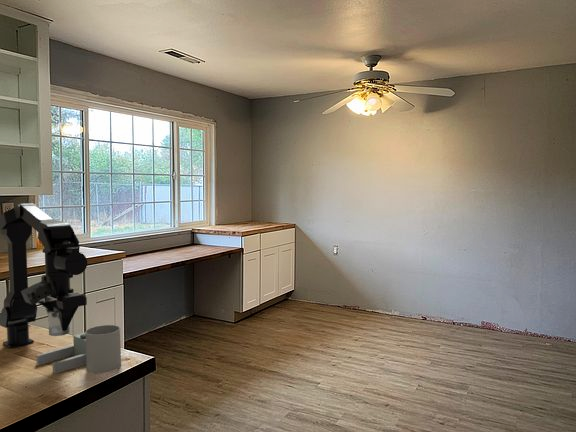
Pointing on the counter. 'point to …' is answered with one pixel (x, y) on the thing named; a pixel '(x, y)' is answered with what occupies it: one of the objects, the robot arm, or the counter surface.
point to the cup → (103, 349)
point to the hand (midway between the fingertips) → (59, 328)
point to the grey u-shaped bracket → (66, 355)
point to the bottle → (56, 324)
